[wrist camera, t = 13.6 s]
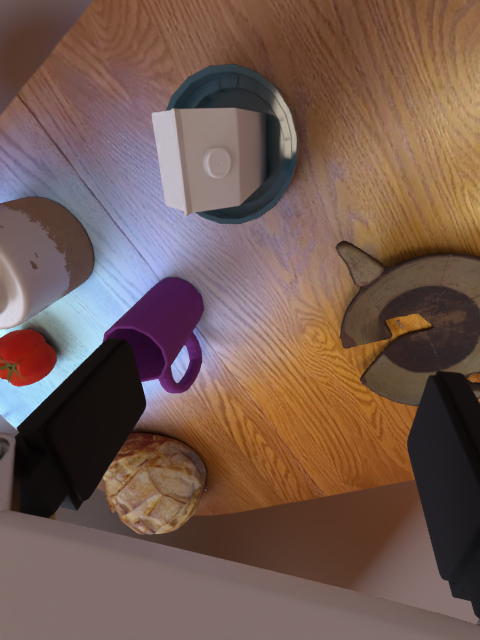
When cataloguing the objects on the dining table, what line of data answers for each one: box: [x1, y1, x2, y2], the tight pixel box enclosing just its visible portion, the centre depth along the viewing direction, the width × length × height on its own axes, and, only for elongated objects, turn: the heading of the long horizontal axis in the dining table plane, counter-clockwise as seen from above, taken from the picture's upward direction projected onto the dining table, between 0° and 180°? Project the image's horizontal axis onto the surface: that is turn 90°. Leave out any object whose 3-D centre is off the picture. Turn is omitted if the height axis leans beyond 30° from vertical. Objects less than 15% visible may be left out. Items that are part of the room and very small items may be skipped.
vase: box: [0, 197, 94, 329], centre depth 46 cm, size 15×15×17 cm
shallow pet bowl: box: [166, 64, 301, 224], centre depth 38 cm, size 15×15×6 cm
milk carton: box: [152, 108, 266, 216], centre depth 32 cm, size 7×7×19 cm
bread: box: [103, 433, 208, 534], centre depth 74 cm, size 25×27×15 cm
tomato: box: [0, 329, 57, 387], centre depth 63 cm, size 11×11×9 cm
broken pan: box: [336, 241, 480, 406], centre depth 42 cm, size 22×30×8 cm
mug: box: [103, 278, 204, 393], centre depth 49 cm, size 9×16×15 cm, turn 24°
